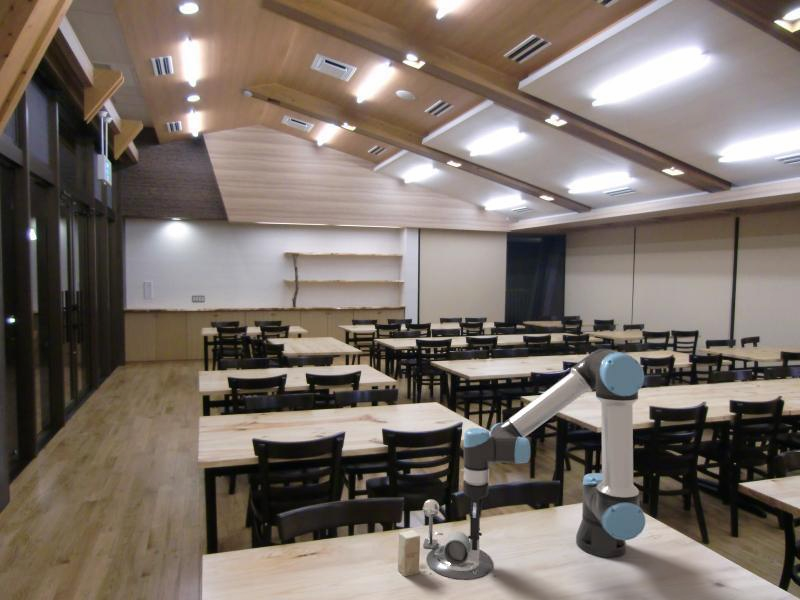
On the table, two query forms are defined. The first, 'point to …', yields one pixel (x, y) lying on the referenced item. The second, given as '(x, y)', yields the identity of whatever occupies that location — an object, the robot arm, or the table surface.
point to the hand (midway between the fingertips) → (474, 558)
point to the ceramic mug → (455, 549)
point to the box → (409, 553)
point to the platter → (461, 566)
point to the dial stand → (431, 522)
